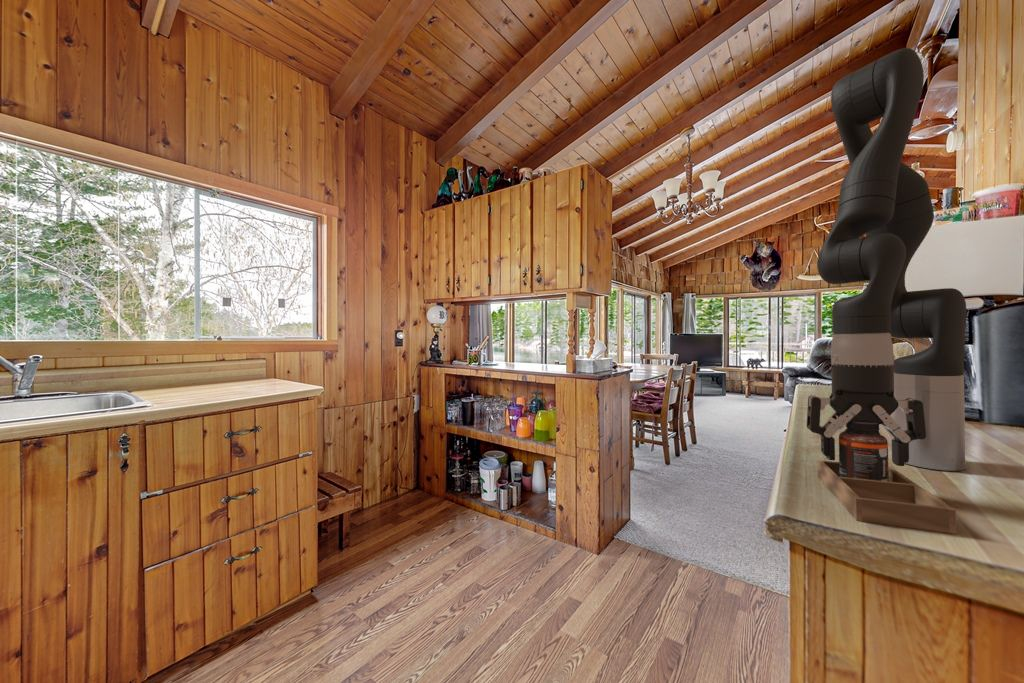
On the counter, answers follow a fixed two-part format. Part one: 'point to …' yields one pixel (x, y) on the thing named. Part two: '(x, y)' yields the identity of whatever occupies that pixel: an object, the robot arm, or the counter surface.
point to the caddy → (888, 500)
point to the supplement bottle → (863, 452)
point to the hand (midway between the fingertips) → (863, 461)
